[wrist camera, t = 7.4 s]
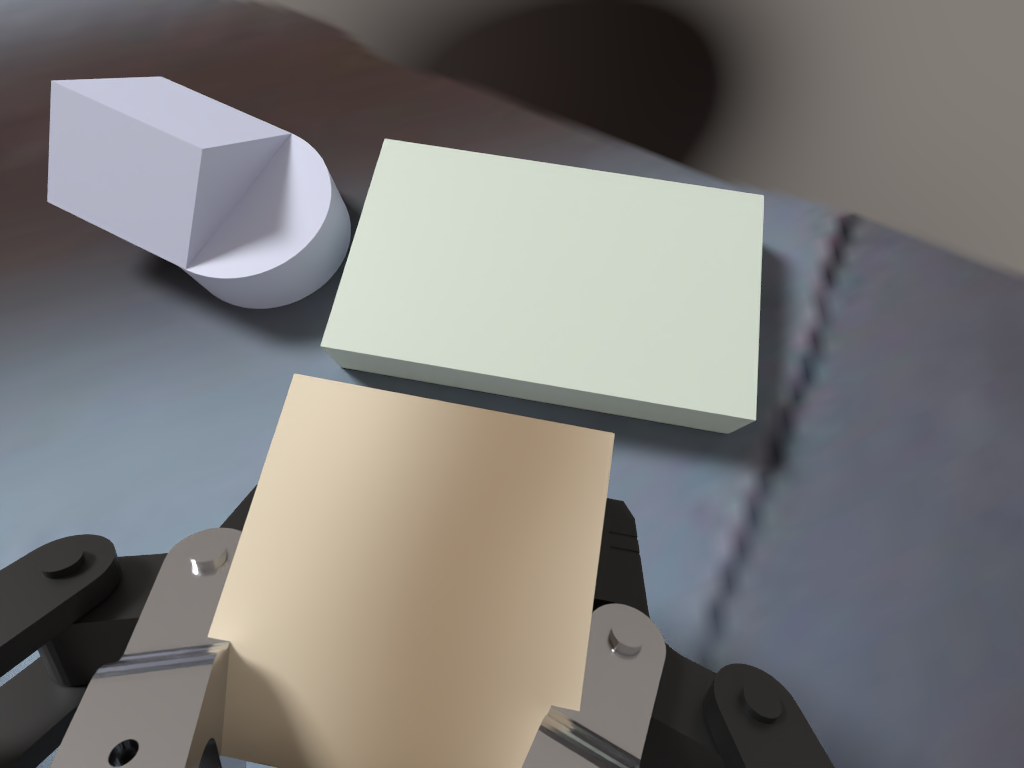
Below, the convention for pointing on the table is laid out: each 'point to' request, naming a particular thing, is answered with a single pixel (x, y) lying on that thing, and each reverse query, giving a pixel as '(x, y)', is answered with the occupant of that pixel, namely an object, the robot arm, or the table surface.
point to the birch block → (410, 583)
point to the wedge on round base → (198, 187)
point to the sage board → (555, 286)
